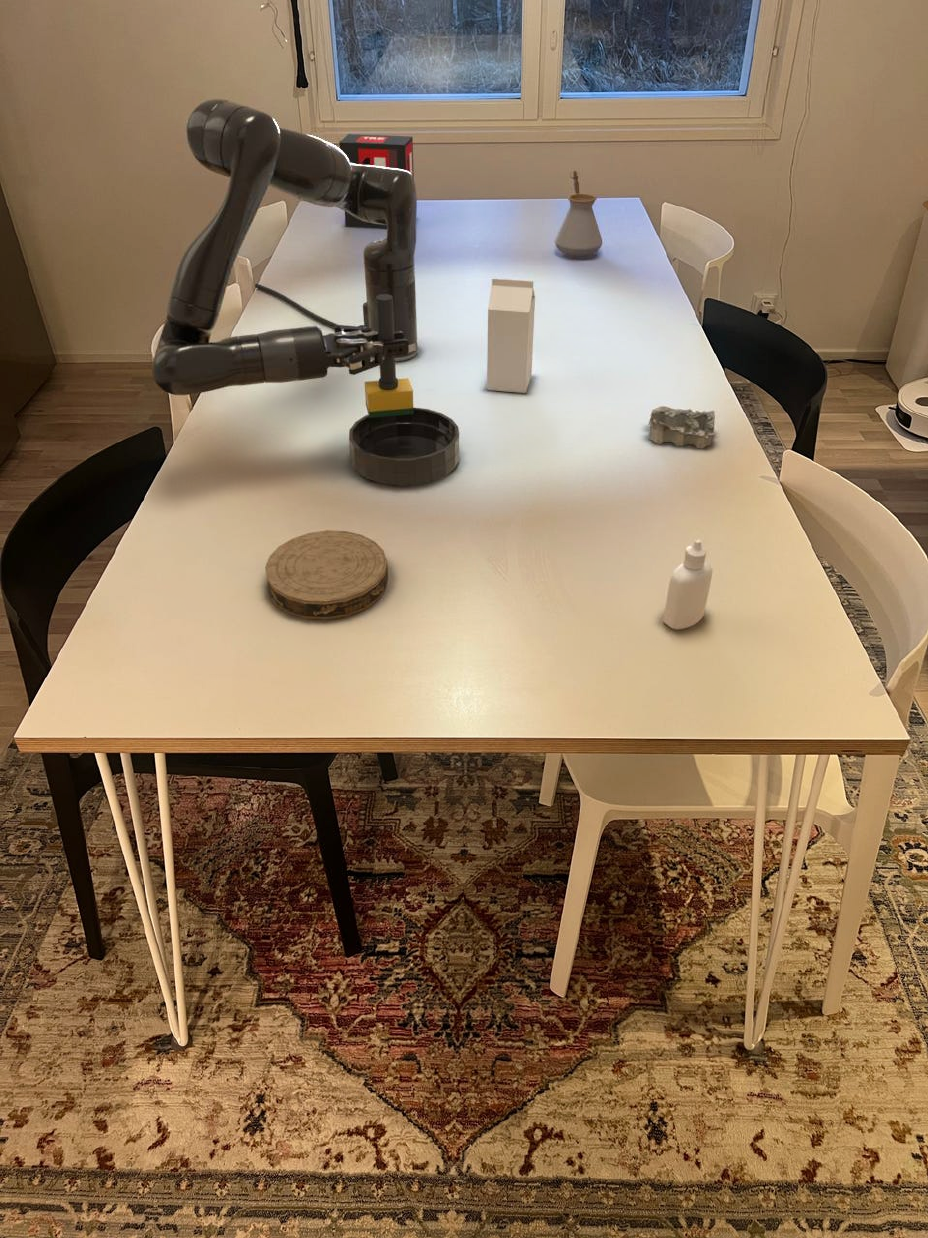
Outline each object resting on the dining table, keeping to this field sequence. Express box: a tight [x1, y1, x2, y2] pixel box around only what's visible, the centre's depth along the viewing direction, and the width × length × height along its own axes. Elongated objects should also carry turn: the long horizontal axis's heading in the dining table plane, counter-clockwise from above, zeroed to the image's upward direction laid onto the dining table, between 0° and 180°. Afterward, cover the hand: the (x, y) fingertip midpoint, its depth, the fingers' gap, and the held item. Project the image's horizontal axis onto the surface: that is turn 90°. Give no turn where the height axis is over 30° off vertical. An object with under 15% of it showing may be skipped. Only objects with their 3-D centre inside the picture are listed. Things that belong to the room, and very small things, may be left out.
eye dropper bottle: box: [662, 538, 713, 631], centre depth 116 cm, size 4×6×12 cm
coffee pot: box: [554, 170, 603, 260], centre depth 227 cm, size 21×12×15 cm, turn 1°
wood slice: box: [264, 530, 389, 621], centre depth 125 cm, size 16×16×3 cm
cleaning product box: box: [338, 133, 415, 230], centre depth 240 cm, size 16×9×20 cm, turn 80°
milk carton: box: [486, 277, 536, 394], centre depth 166 cm, size 7×7×19 cm
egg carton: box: [647, 406, 716, 449], centre depth 155 cm, size 11×8×4 cm
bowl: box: [348, 406, 460, 487], centre depth 149 cm, size 17×17×5 cm
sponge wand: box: [363, 294, 414, 418], centre depth 143 cm, size 7×4×18 cm, turn 102°
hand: (405, 342), depth 143 cm, fingers closed on sponge wand, 2 cm apart
